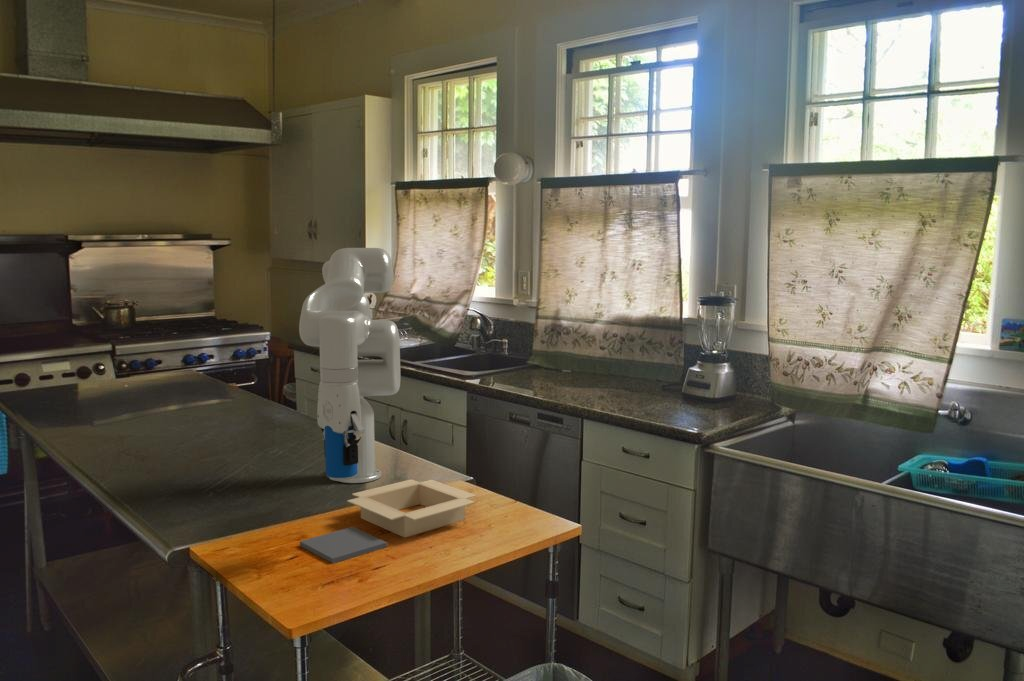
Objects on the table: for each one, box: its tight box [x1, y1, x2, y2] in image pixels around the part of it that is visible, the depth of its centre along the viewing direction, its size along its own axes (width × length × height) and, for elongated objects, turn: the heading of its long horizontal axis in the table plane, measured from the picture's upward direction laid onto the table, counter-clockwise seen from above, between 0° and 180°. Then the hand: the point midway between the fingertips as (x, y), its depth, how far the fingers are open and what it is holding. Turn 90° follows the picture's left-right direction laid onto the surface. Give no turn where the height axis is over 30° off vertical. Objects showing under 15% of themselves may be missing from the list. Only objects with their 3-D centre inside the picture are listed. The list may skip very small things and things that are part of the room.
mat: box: [299, 526, 388, 564], centre depth 180 cm, size 13×13×1 cm
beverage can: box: [324, 426, 358, 482], centre depth 178 cm, size 6×6×12 cm
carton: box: [346, 478, 478, 538], centre depth 197 cm, size 24×24×5 cm
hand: (341, 460), depth 178 cm, fingers closed on beverage can, 6 cm apart
